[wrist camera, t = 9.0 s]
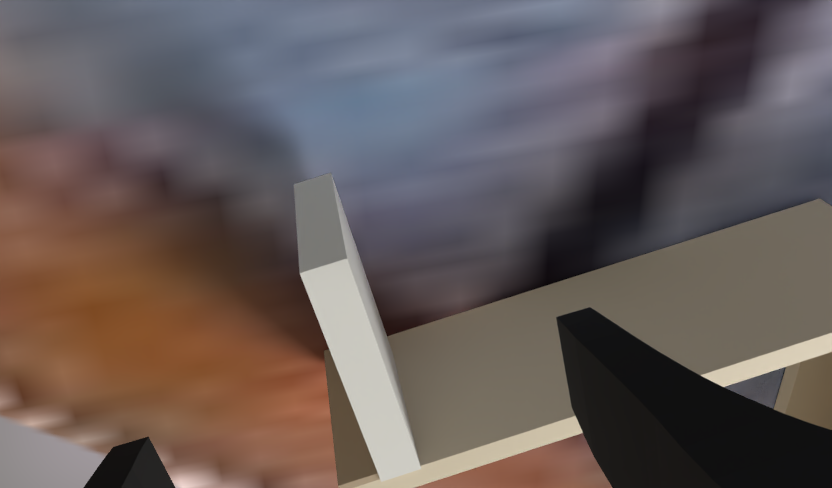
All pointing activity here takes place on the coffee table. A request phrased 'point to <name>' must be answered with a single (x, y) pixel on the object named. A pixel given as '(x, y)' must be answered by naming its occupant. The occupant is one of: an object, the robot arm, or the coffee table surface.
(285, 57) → the coffee table surface
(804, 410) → the carton
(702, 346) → the cream block
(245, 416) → the coffee table surface
